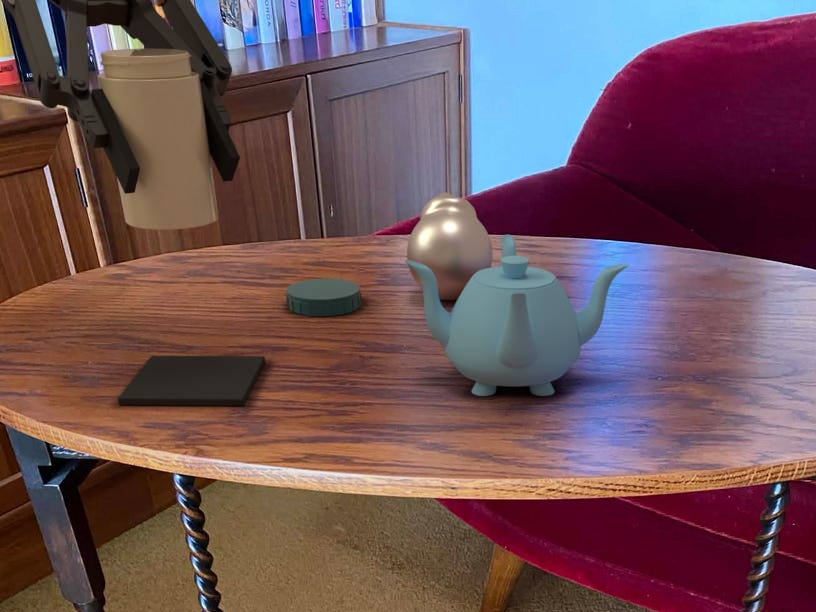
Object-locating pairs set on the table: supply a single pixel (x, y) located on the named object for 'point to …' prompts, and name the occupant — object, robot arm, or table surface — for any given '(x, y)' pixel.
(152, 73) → the jar
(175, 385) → the plate
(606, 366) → the table surface
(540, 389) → the teapot
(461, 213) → the shiny gold rounded piece
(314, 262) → the table surface
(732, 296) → the table surface
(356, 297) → the jar lid
